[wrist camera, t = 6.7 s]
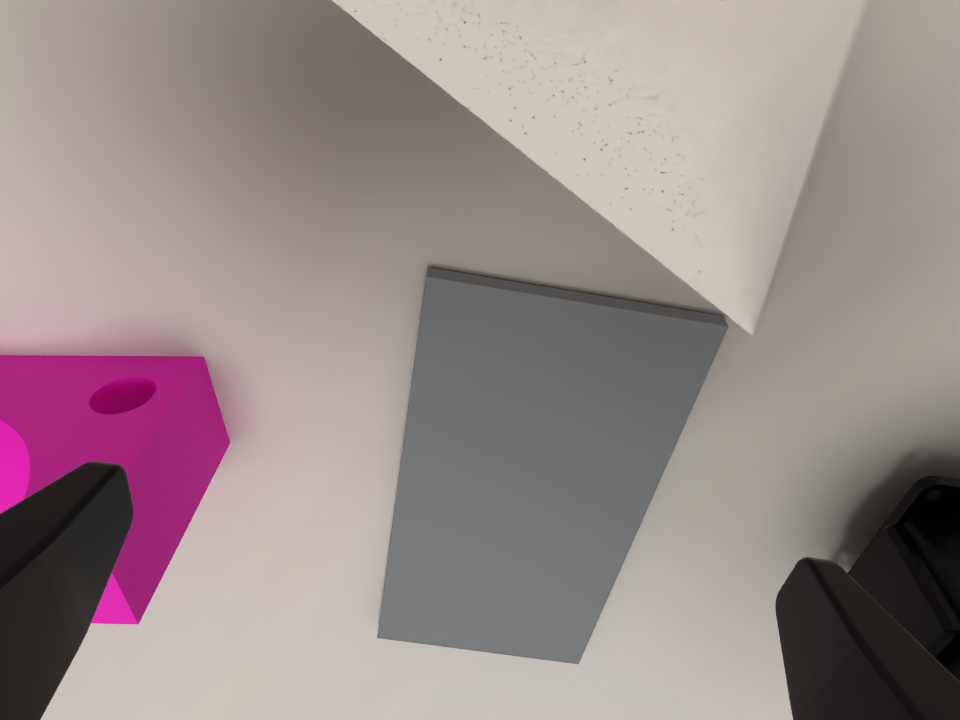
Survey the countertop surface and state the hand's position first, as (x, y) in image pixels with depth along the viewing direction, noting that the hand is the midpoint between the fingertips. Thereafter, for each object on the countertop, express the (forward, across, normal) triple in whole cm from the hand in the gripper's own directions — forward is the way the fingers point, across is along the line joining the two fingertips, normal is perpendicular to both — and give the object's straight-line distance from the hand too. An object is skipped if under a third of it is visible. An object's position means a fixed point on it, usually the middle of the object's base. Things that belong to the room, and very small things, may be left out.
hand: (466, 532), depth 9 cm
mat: (+12, -3, +11) cm, 17 cm away
